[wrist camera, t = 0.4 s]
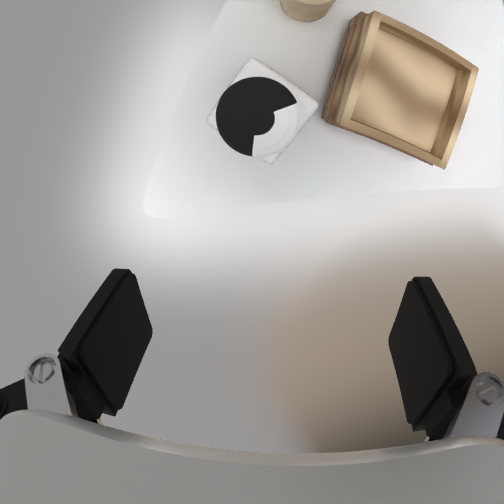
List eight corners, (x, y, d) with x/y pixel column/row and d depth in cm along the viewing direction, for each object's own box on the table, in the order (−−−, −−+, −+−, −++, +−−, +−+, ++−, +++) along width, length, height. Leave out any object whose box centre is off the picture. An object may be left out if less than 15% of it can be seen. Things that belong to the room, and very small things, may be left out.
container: (219, 113, 33) (187, 131, 22) (257, 61, 29) (243, 49, 18) (273, 149, 35) (268, 185, 24) (312, 100, 31) (329, 110, 20)
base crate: (348, 19, 25) (358, 10, 21) (445, 65, 26) (465, 66, 22) (319, 116, 32) (324, 122, 28) (415, 154, 33) (432, 165, 29)
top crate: (364, 17, 21) (374, 10, 18) (461, 67, 22) (478, 68, 19) (333, 120, 28) (339, 124, 25) (430, 160, 28) (444, 169, 25)
